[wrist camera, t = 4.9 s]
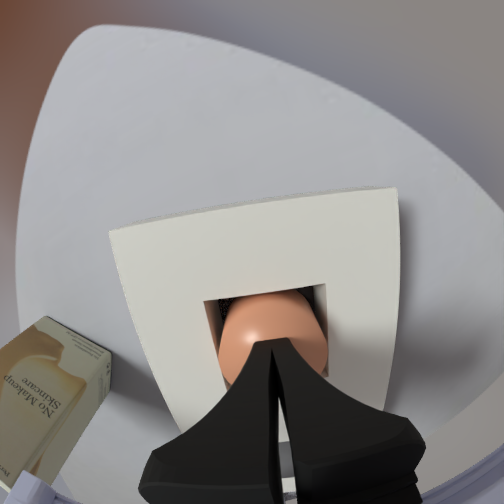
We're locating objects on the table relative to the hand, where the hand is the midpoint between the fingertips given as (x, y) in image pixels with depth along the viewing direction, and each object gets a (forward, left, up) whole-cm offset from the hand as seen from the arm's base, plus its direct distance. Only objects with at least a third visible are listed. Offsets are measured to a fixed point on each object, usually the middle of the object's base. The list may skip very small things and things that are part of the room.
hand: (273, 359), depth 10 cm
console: (-5, 0, -4) cm, 6 cm away
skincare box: (-2, +14, -4) cm, 15 cm away
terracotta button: (0, 0, -3) cm, 3 cm away
